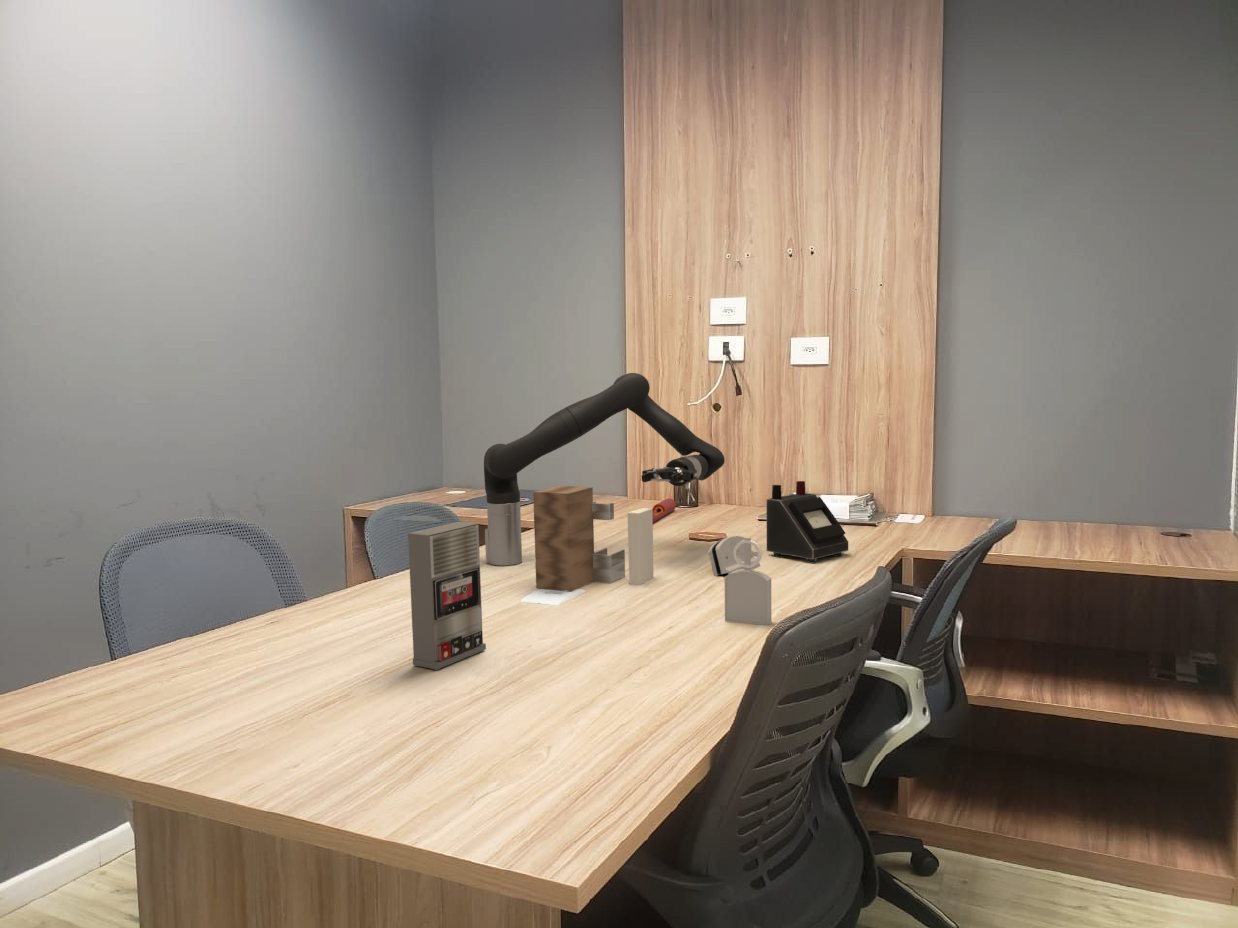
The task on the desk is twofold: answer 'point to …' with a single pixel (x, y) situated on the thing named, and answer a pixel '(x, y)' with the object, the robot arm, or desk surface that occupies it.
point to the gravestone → (748, 589)
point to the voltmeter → (802, 526)
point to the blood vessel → (663, 508)
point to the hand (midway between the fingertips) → (657, 478)
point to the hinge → (727, 556)
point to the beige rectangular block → (640, 546)
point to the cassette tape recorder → (445, 594)
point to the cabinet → (571, 540)
